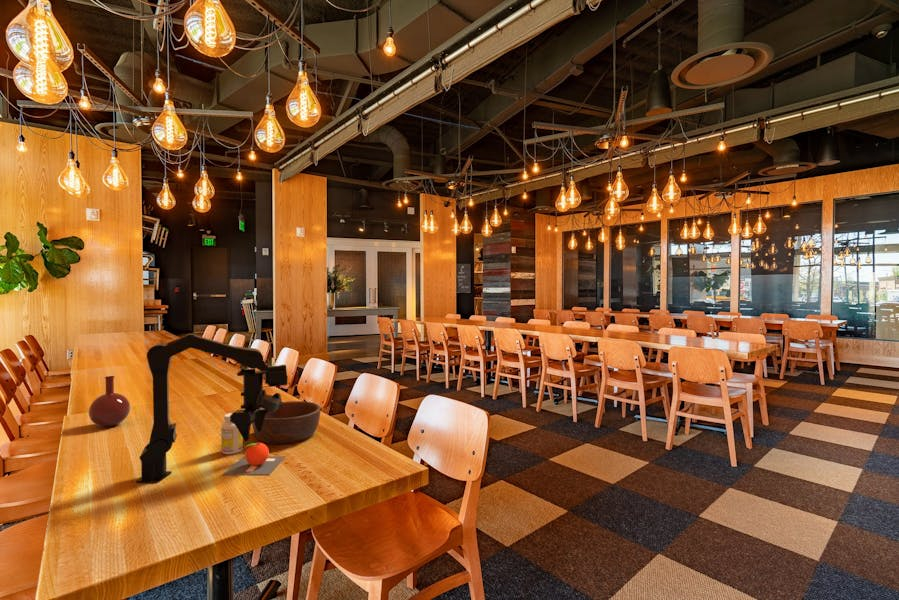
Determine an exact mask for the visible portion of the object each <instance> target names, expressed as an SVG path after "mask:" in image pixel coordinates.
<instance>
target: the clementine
mask: <svg viewBox="0 0 899 600" xmlns="http://www.w3.org/2000/svg"><path fill="white" fill-rule="evenodd" d="M247 447H248V448H247ZM245 448H246V451H245V453H244V454H245V455H244V456H245V458H246V461H247V462H248V463H249V464H251V465H253V466H257V465H261V464H262V463H264V462H265V461H266V460H267V458H268V456H269V455H270V454H269V453H270V452H269V450H270V449H269V447H268V446H267V445H266V443H264V442H254V443H253V442H252V443H249V444H248V445H245Z"/></svg>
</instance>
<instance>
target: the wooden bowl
mask: <svg viewBox="0 0 899 600" xmlns="http://www.w3.org/2000/svg"><path fill="white" fill-rule="evenodd" d="M321 410H322V409H321V406H320V405H319V404H318V403H315V402H311V401H310V402H309V401H305V400H303V401H302V400H300V401H299V400H293V401H291V400H289V401H282V403H281V404H280V406H279V408H278V410H276V411H275V412H270V411H269V412H267V413H266V416H265V419H264V422H263V425H262V429H261V431H257V429H256V426H255V422H253V423H252V424H251V427H252V430H253V433H254V435H255V437H256V439H258V440H259V441H260V443H263V444H268V445H269V444H270V445H287V444H293V443H295V444H296V443H299V442H301V441H304V440H307V439H309V438H311V437H312V436H313V435H314V434H315V432H316V431H317V429H318V425H319V423H320V417H321V412H322V411H321Z"/></svg>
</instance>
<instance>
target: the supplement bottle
mask: <svg viewBox="0 0 899 600" xmlns="http://www.w3.org/2000/svg"><path fill="white" fill-rule="evenodd" d="M232 413H233V412H229V413H226V414H224V417H223V418H224V422H223V423H222V424H221V429H220V431H221V433H220V435H221V437H220V438H221V440H220V441H221V446H220V447H221V453H222V454H224V455H234V454H239V453H240V452H243V450H244V439H243V437H242V435H241V434H240V432H239V430H238V429H237V427H236V426H235V424H233V423H232V422H230V415H231V414H232Z"/></svg>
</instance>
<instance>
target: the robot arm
mask: <svg viewBox="0 0 899 600" xmlns="http://www.w3.org/2000/svg"><path fill="white" fill-rule="evenodd" d="M191 348H192V349H194V350H199V351H201V352H204V353H205V352H206V353H208V354H209V353H210V354H211V355H216V356H220V357H224V358H227V359H230V360H233V361H234V362H237V363H238V364H239V365H242V366H241V368H240V369H239V370H237V372H236V375H237V377H242V376H243V381H242V382H243V384H242V385H243V387H242V390H243V391H242V392H240V397H242V398H243V403H242V404H241V405H240V409H237V410H235V411H233V412H231V413H232V414H231V415H230V422H232V423H233V424H235V426H236V427H237V429H238V430H239V432H240V434H241V435H242V437H243V442H248V441H249V439H250V434H251V427H252V423H253V422H255V426H256V429H257V431H261V429H262V425H263V422H264V419H265V416H266V413H267V412H269V411H270V412H275V411H276V410H278V408H279V406H280V404H281V403H282V402H283V401H282V396H281V393H279V392H275V393H274V394H273V395H272V394H270V395H269V394H267V390H266V389H263V388H264V387H263V386H264V384H265V385H267V386H268V387H269V388H270V387H281V386H287V385H288V378H289V377H288V373H287V365H286V364H279V365H269V364H268V362H266V361H264V356H263V353H262V352H261V351H260V350H259V349H257V348H253V347H245V346H243V347H242V346H234V345H231V344H227V343H224V342H220V341H217V340H214V339H210V338H206V337H203V336H199V335H197V334H195V333H187V334H186V335H184V336H182V337H179V338H177V339H174V340H172V341H169V342H166V343H165V342H159V343H156V344H154V345H153V346H151V347H150V348H149V349H148V350H147V353H146V360H147V364H148V367H149V370H150V373H151V375H152V408H153V409H152V410H153V424H152V428H151V433H150V437H149V443H148V444H147V445H145V446H144V448H143V450H142V452H141V454H140V455H139V460H140V465H141V468H140V471H141V473H140V474H141V475H140V476H141V477H139V478H138V479H136V480H135V483H159V482H161V481H162V480H164V479H165V478H166V477H168V476H170V475H171V474H172V471H171V470H170V471H169V470H168V471H167V453H168V452H169V451H170V450H171V448H172V447H173V444H174V443H176V441H177V437H178V434H177V422H176V423H175V422H174V423H172V422H171V419H170V395H169V394H170V390H169V388H170V387H169V386H170V385H169V383H170V382H169V373H170V369H171V363H172V359H173V356H174V357H175V356H176V355H178V354H180V353H182V352H184V351H187V350H189V349H191ZM243 366H245V367H246V368H244V367H243ZM247 368H248V369H247ZM256 369H257V370H256ZM263 376H264V377H263ZM263 379H264V380H263ZM263 383H264V384H263Z"/></svg>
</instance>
